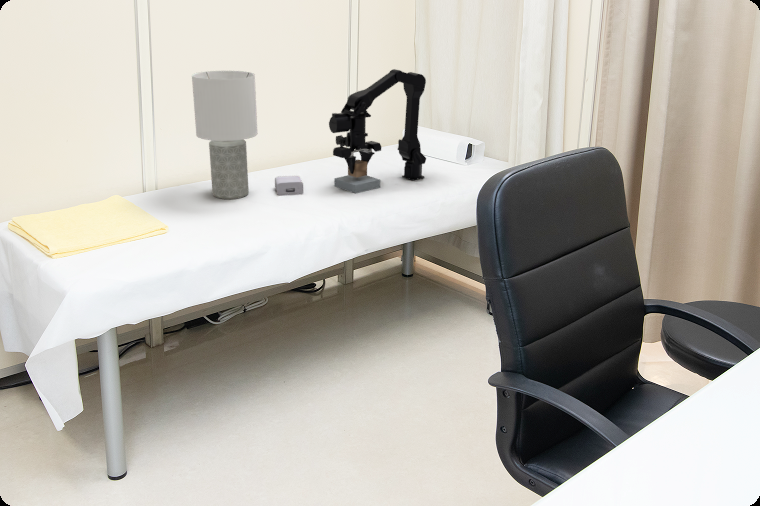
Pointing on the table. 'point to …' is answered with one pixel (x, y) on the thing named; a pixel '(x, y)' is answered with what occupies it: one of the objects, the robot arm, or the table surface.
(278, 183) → the charger
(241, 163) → the lamp
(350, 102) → the robot arm
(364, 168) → the walnut cube
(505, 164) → the table surface
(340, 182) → the grey base
